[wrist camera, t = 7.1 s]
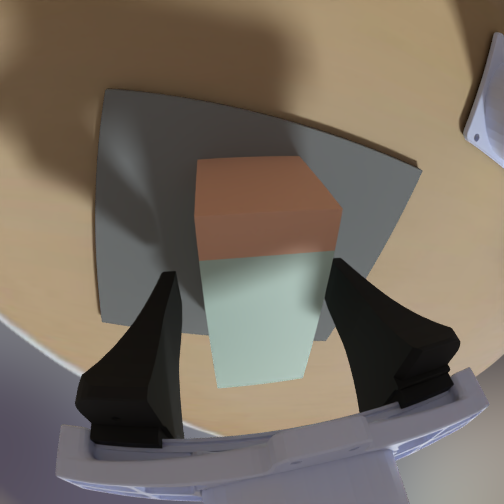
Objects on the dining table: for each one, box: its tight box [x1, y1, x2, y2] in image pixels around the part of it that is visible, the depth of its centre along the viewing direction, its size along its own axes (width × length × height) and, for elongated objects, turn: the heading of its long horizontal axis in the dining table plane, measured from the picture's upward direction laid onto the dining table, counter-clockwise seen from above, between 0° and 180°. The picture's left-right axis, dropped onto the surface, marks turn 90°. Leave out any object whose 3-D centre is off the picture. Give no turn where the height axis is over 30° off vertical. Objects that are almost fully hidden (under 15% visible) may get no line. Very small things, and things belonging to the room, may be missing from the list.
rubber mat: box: [95, 89, 422, 341], centre depth 16 cm, size 16×14×1 cm
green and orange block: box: [194, 156, 343, 388], centre depth 14 cm, size 10×4×5 cm, turn 179°
